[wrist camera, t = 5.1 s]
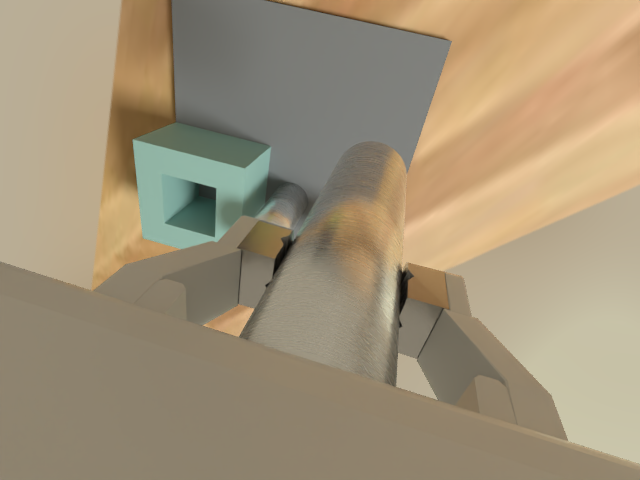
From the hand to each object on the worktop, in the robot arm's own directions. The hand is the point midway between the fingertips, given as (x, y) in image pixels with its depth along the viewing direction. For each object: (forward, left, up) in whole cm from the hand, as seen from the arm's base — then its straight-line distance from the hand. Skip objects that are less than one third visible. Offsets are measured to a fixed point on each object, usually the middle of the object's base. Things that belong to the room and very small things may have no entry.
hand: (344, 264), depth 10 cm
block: (+13, +9, -21) cm, 27 cm away
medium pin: (+6, +9, -21) cm, 24 cm away
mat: (+7, +4, -22) cm, 23 cm away
